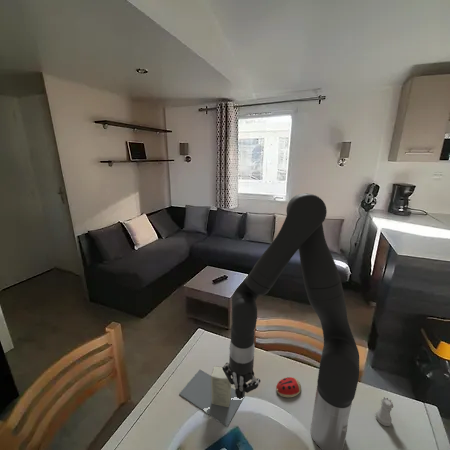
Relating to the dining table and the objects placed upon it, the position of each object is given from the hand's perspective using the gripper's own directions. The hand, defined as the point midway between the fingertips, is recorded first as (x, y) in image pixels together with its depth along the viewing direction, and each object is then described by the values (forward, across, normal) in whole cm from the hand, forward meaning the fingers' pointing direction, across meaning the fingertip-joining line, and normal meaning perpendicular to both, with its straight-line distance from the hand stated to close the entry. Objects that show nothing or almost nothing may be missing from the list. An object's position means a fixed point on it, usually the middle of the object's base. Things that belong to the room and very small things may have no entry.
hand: (239, 396), depth 76 cm
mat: (+7, +11, 0) cm, 13 cm away
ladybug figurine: (+8, -12, -17) cm, 22 cm away
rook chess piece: (+7, -41, -23) cm, 48 cm away
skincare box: (+7, +7, 0) cm, 10 cm away
